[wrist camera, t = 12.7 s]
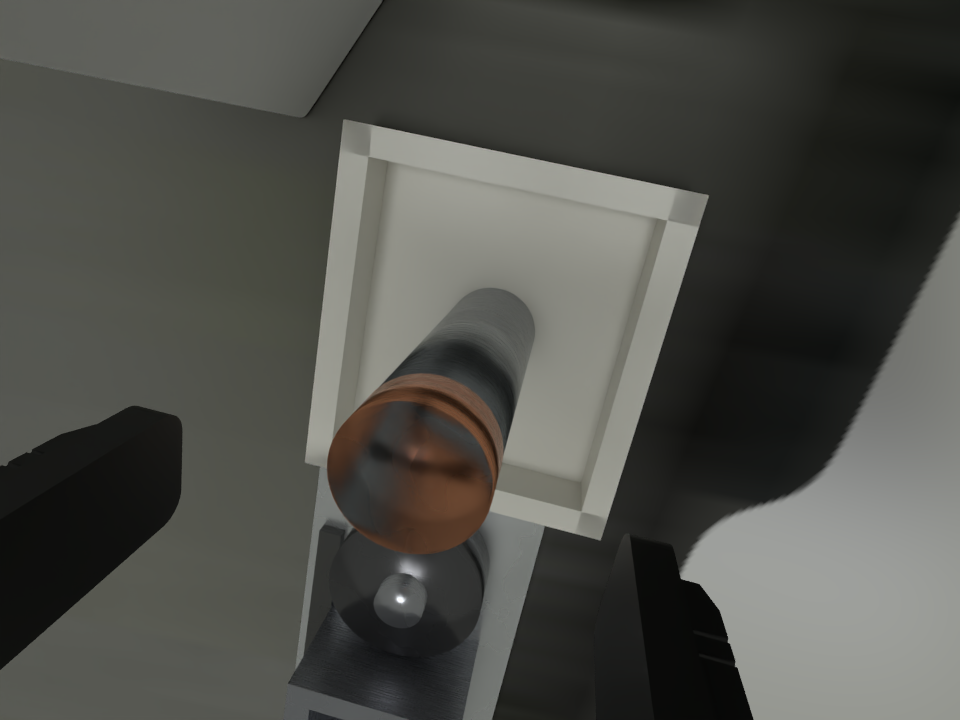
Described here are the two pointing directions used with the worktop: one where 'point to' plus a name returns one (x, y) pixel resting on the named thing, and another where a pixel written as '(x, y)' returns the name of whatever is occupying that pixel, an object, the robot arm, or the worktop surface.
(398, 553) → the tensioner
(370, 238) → the tray
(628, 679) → the robot arm
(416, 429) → the lock pin
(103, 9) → the milk carton
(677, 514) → the worktop surface
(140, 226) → the worktop surface
